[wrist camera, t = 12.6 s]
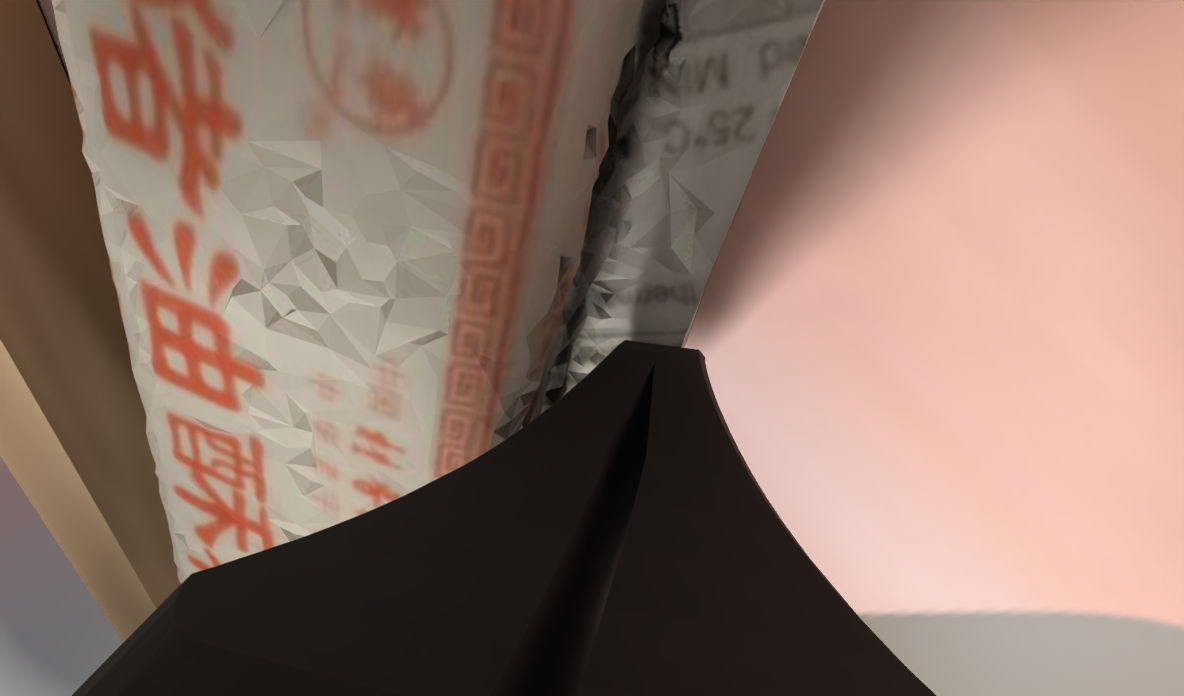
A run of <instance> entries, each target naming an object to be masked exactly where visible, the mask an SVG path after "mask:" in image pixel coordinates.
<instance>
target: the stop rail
mask: <svg viewBox="0 0 1184 696" xmlns="http://www.w3.org/2000/svg"><path fill="white" fill-rule="evenodd" d="M82 145H83V133H82V129H81V125H80V120H79V116H78V112H77V108H76V104H75V100H74V96H73V92H72V88H71V86H70V84H69V81H68V79H67V76H66V74H65V71H64V69H63V66H62V64H61V61H60V59H59V56H58V54H57V51H56V49H55V46H54V44H53V41H52V39H51V36H50V34H49V31H48V29H47V26H46V24H45V21H44V19H43V16H42V14H41V11H40V9H39V6H38V4H37V1H36V0H0V456H1V457H2V459H3V460H4V462H5V463H6V465H7V467H8V468H9V470H10V471H11V473H12V474H13V476H14V477H15V479H16V480H17V482H18V483H19V485H20V486H21V488H22V489H23V491H24V492H25V494H26V495H27V497H28V498H29V500H30V501H31V503H32V505H33V506H34V508H35V509H36V511H37V512H38V513H39V515H40V517H41V518H42V520H43V521H44V523H45V524H46V526H47V527H48V529H49V530H50V532H51V533H52V535H53V536H54V538H55V540H56V541H57V543H58V544H59V546H60V547H61V549H62V550H63V552H64V553H65V555H66V556H67V558H68V559H69V561H70V562H71V564H72V565H73V567H74V568H75V569H76V571H77V573H78V575H79V576H80V577H81V579H82V581H83V582H84V584H85V585H86V587H87V588H88V590H89V591H90V593H91V594H92V596H93V597H94V599H95V600H96V602H97V603H98V605H99V606H100V608H101V609H102V611H103V613H104V614H105V616H106V617H107V619H108V620H109V622H110V623H111V625H112V626H113V628H114V629H115V631H116V632H117V634H118V635H119V637H120V638H121V640H122V641H123V643H124V642H125V640H126V639H127V638H128V637H129V636H130V635H131V634H132V633H133V632H134V631H135V630H136V629H137V628H138V627H139V626H140V625H141V624H142V623H143V622H144V621H145V620H146V619H147V618H148V617H149V616H150V615H151V614H152V613H153V612H154V611H155V610H156V609H157V608H158V607H159V606H160V605H161V604H162V603H163V602H164V601H165V600H166V599H167V598H168V596H169V595H170V594H171V593H172V592H173V591H174V590H175V589H176V588H177V587H178V586H179V585H180V584H181V583H180V581H179V579H178V576H177V566H176V564H175V562H174V554H173V544H172V540H171V535H170V531H169V524H168V520H167V516H166V512H165V509H164V506H163V503H162V500H161V497H160V492H159V479H158V477H157V475H156V473H155V468H156V463H155V461H154V458H153V455H152V452H151V450H150V446H149V442H148V438H147V434H146V420H147V416H146V413H145V409H144V406H143V403H142V400H141V397H140V394H139V390H138V387H137V384H136V381H135V378H134V374H133V371H132V366H131V359H130V352H129V345H128V341H127V336H126V332H125V328H124V324H123V320H122V316H121V311H120V306H119V300H118V295H117V290H116V287H115V284H114V281H113V278H112V272H111V267H110V261H109V256H108V252H107V248H106V245H105V241H104V236H103V232H102V227H101V222H100V217H99V211H98V205H97V198H96V192H95V186H94V182H93V177H92V172H91V170H90V168H89V166H88V163H87V161H86V159H85V157H84V155H83V152H82Z"/></svg>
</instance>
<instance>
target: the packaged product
mask: <svg viewBox="0 0 1184 696" xmlns="http://www.w3.org/2000/svg"><path fill="white" fill-rule="evenodd" d="M824 2H825V0H52V5H53V9H54V15H55V20H56V26H57V31H58V37H59V41H60V44H61V48H62V52H63V55H64V59H65V62H66V66H67V69H68V73H69V78H70V83H71V87H72V92H73V96H74V100H75V104H76V108H77V112H78V116H79V120H80V125H81V129H82V133H83V145H82V152H83V155H84V157H85V159H86V161H87V163H88V166H89V168H90V170H91V172H92V177H93V182H94V186H95V192H96V198H97V205H98V211H99V217H100V222H101V227H102V232H103V236H104V241H105V245H106V248H107V252H108V256H109V261H110V267H111V272H112V278H113V281H114V284H115V287H116V290H117V295H118V300H119V306H120V311H121V316H122V320H123V324H124V328H125V332H126V336H127V341H128V345H129V352H130V359H131V366H132V371H133V374H134V378H135V381H136V384H137V387H138V390H139V394H140V397H141V400H142V403H143V406H144V409H145V413H146V416H147V420H146V434H147V438H148V442H149V446H150V450H151V452H152V455H153V458H154V461H155V463H156V468H155V473H156V475H157V477H158V479H159V492H160V497H161V500H162V503H163V506H164V509H165V512H166V516H167V520H168V524H169V531H170V535H171V540H172V544H173V554H174V562H175V564H176V566H177V576H178V579H179V581H180V583H183V582H184V581H185V580H186V579H187V578H188V577H189V576H190V575H191V574H192V573H195V572H199V571H202V570H205V569H208V568H212V567H215V566H218V565H221V564H224V563H227V562H230V561H233V560H236V559H239V558H242V557H245V556H248V555H251V554H254V553H257V552H260V551H263V550H266V549H269V548H272V547H275V546H278V545H281V544H284V543H287V542H290V541H293V540H296V539H299V538H302V537H305V536H307V535H310V534H313V533H315V532H318V531H321V530H323V529H326V528H329V527H331V526H334V525H336V524H339V523H341V522H344V521H346V520H349V519H351V518H354V517H356V516H359V515H361V514H364V513H366V512H368V511H370V510H373V509H375V508H377V507H380V506H382V505H384V504H387V503H389V502H391V501H393V500H396V499H398V498H400V497H402V496H404V495H406V494H408V493H410V492H412V491H414V490H416V489H418V488H420V487H422V486H424V485H426V484H428V483H430V482H432V481H434V480H436V479H438V478H440V477H442V476H444V475H446V474H448V473H450V472H452V471H454V470H456V469H458V468H460V467H462V466H463V465H465V464H467V463H469V462H470V461H472V460H474V459H476V458H477V457H479V456H481V455H482V454H484V453H485V452H487V451H489V450H490V449H492V448H494V447H495V446H497V445H498V444H500V443H501V442H503V441H504V440H506V439H507V438H509V437H510V436H512V435H513V434H514V433H516V432H517V431H519V430H520V429H522V428H523V427H524V426H526V425H527V424H528V423H530V422H531V421H532V420H533V419H535V418H536V417H537V416H539V415H540V414H541V413H543V412H544V411H545V410H547V409H548V408H549V407H551V406H552V405H553V404H554V403H556V402H557V401H558V400H559V399H560V398H562V397H563V396H564V395H565V394H566V393H567V392H568V391H570V390H571V389H572V388H573V387H574V386H575V385H577V384H578V383H579V382H580V381H581V380H582V379H583V378H585V377H586V376H587V375H588V374H589V373H590V372H591V371H592V370H593V369H594V368H595V367H596V366H597V365H598V364H599V363H600V362H601V361H603V360H604V359H605V358H606V357H607V356H608V355H609V354H610V353H611V352H612V351H613V350H614V348H615V347H616V346H617V345H619V344H620V343H622V342H623V341H624V340H629V341H636V342H643V343H651V344H658V345H666V346H673V347H681V348H684V346H685V343H686V340H687V338H688V335H689V332H690V329H691V326H692V324H693V321H694V318H695V315H696V312H697V309H698V307H699V304H700V301H701V298H702V295H703V292H704V290H705V287H706V284H707V282H708V279H709V277H710V274H711V272H712V269H713V266H714V264H715V262H716V259H717V257H718V255H719V252H720V250H721V247H722V245H723V243H724V240H725V238H726V236H727V233H728V231H729V228H730V226H731V224H732V221H733V219H734V217H735V214H736V212H737V209H738V207H739V204H740V202H741V199H742V197H743V195H744V192H745V190H746V187H747V185H748V182H749V180H750V177H751V175H752V173H753V170H754V168H755V165H756V163H757V160H758V158H759V156H760V153H761V151H762V148H763V146H764V143H765V141H766V139H767V136H768V134H769V132H770V129H771V127H772V124H773V122H774V120H775V117H776V115H777V113H778V110H779V108H780V106H781V103H782V101H783V99H784V96H785V94H786V92H787V89H788V87H789V84H790V82H791V80H792V77H793V75H794V73H795V70H796V68H797V66H798V63H799V61H800V59H801V56H802V54H803V52H804V49H805V47H806V44H807V42H808V40H809V37H810V35H811V33H812V30H813V28H814V26H815V23H816V21H817V19H818V16H819V14H820V12H821V9H822V7H823V4H824Z"/></svg>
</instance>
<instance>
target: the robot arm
mask: <svg viewBox="0 0 1184 696" xmlns="http://www.w3.org/2000/svg"><path fill="white" fill-rule="evenodd" d="M72 696H936V695H935V694H934V693H933V692H932V691H931V690H930V689H929V688H928V687H926V685H925V684H923V683H922V682H921V681H920V680H919V679H918V678H917V677H916V676H915V675H914V674H913V673H912V672H911V671H910V670H909V669H908V668H907V667H906V666H904V664H903V663H902V662H901V661H900V660H899V659H898V658H897V657H896V656H895V655H894V654H893V653H892V652H891V651H890V650H889V648H887V646H886V645H885V644H884V643H883V642H882V641H881V640H880V639H879V638H878V637H877V636H876V635H875V634H874V633H873V632H872V630H871V629H870V628H869V627H868V626H867V625H866V624H865V623H864V622H863V621H862V620H861V619H860V618H859V616H858V615H857V614H856V613H855V612H854V611H853V609H852V608H851V607H850V606H849V605H848V603H847V602H846V601H845V600H844V599H843V597H842V596H841V595H840V594H839V593H838V591H837V590H836V589H835V588H834V587H833V586H832V584H831V583H830V582H829V581H828V580H827V578H826V577H825V576H824V575H823V574H822V572H821V571H820V570H819V569H818V568H817V567H816V565H815V564H814V563H813V562H812V561H811V559H810V558H809V557H808V556H807V554H806V553H805V552H804V550H803V549H802V547H801V546H800V545H799V543H798V542H797V541H796V539H795V538H794V537H793V535H792V534H791V532H790V531H789V530H788V528H787V527H786V526H785V524H784V523H783V521H782V520H781V518H780V517H779V516H778V514H777V513H776V511H775V510H774V508H773V507H772V505H771V504H770V502H769V501H768V499H767V498H766V496H765V494H764V493H763V491H762V490H761V488H760V486H759V485H758V483H757V481H756V480H755V478H754V476H753V475H752V473H751V471H750V469H749V467H748V466H747V464H746V462H745V460H744V458H743V456H742V455H741V453H740V451H739V449H738V447H737V445H736V443H735V441H734V439H733V437H732V435H731V433H730V431H729V429H728V426H727V424H726V422H725V420H724V417H723V415H722V413H721V411H720V408H719V406H718V403H717V401H716V398H715V395H714V392H713V390H712V387H711V384H710V381H709V377H708V373H707V369H706V364H705V357H704V356H703V354H702V353H701V352H700V351H699V350H696V349H688V348H681V347H673V346H666V345H658V344H651V343H643V342H636V341H629V340H624V341H623V342H622V343H620V344H619V345H617V346H616V347H615V348H614V350H613V351H612V352H611V353H610V354H609V355H608V356H607V357H606V358H605V359H604V360H603V361H601V362H600V363H599V364H598V365H597V366H596V367H595V368H594V369H593V370H592V371H591V372H590V373H589V374H588V375H587V376H586V377H585V378H583V379H582V380H581V381H580V382H579V383H578V384H577V385H575V386H574V387H573V388H572V389H571V390H570V391H568V392H567V393H566V394H565V395H564V396H563V397H562V398H560V399H559V400H558V401H557V402H556V403H554V404H553V405H552V406H551V407H549V408H548V409H547V410H545V411H544V412H543V413H541V414H540V415H539V416H537V417H536V418H535V419H533V420H532V421H531V422H530V423H528V424H527V425H526V426H524V427H523V428H522V429H520V430H519V431H517V432H516V433H514V434H513V435H512V436H510V437H509V438H507V439H506V440H504V441H503V442H501V443H500V444H498V445H497V446H495V447H494V448H492V449H490V450H489V451H487V452H485V453H484V454H482V455H481V456H479V457H477V458H476V459H474V460H472V461H470V462H469V463H467V464H465V465H463V466H462V467H460V468H458V469H456V470H454V471H452V472H450V473H448V474H446V475H444V476H442V477H440V478H438V479H436V480H434V481H432V482H430V483H428V484H426V485H424V486H422V487H420V488H418V489H416V490H414V491H412V492H410V493H408V494H406V495H404V496H402V497H400V498H398V499H396V500H393V501H391V502H389V503H387V504H384V505H382V506H380V507H377V508H375V509H373V510H370V511H368V512H366V513H364V514H361V515H359V516H356V517H354V518H351V519H349V520H346V521H344V522H341V523H339V524H336V525H334V526H331V527H329V528H326V529H323V530H321V531H318V532H315V533H313V534H310V535H307V536H305V537H302V538H299V539H296V540H293V541H290V542H287V543H284V544H281V545H278V546H275V547H272V548H269V549H266V550H263V551H260V552H257V553H254V554H251V555H248V556H245V557H242V558H239V559H236V560H233V561H230V562H227V563H224V564H221V565H218V566H215V567H212V568H208V569H205V570H202V571H199V572H195V573H192V574H191V575H190V576H189V577H188V578H187V579H186V580H185V581H184V582H183V583H181V584H180V585H179V586H178V587H177V588H176V589H175V590H174V591H173V592H172V593H171V594H170V595H169V596H168V598H167V599H166V600H165V601H164V602H163V603H162V604H161V605H160V606H159V607H158V608H157V609H156V610H155V611H154V612H153V613H152V614H151V615H150V616H149V617H148V618H147V619H146V620H145V621H144V622H143V623H142V624H141V625H140V626H139V627H138V628H137V629H136V630H135V631H134V632H133V633H132V634H131V635H130V636H129V637H128V638H127V639H126V640H125V642H124V643H123V644H122V645H121V646H120V647H119V648H118V649H117V650H116V651H115V652H114V653H113V654H112V655H111V656H110V657H109V658H108V659H107V660H106V661H105V662H104V663H103V664H102V665H101V666H100V667H99V668H98V669H97V670H96V671H95V672H94V673H93V674H92V675H91V676H90V677H89V678H88V680H87V681H85V683H84V684H83V685H82V686H81V687H80V688H79V689H78V690H77V691H76V692H75V693H74V694H73V695H72Z"/></svg>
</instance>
